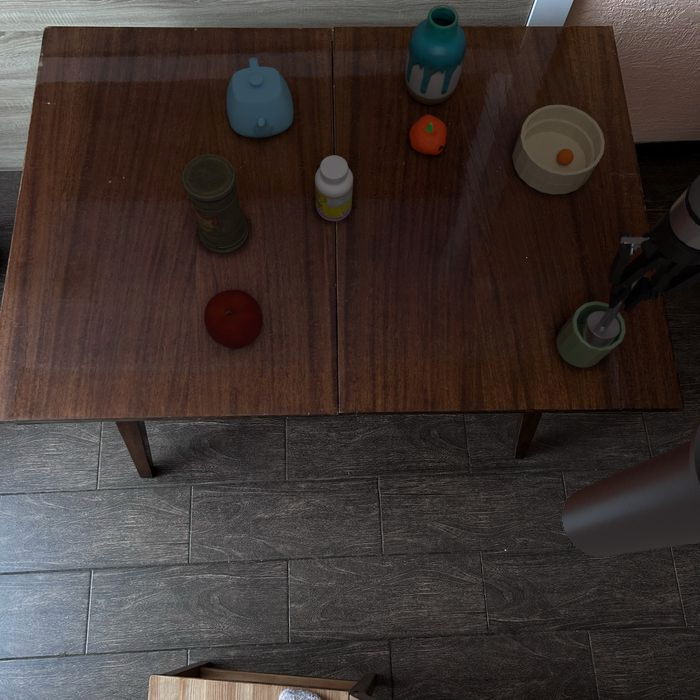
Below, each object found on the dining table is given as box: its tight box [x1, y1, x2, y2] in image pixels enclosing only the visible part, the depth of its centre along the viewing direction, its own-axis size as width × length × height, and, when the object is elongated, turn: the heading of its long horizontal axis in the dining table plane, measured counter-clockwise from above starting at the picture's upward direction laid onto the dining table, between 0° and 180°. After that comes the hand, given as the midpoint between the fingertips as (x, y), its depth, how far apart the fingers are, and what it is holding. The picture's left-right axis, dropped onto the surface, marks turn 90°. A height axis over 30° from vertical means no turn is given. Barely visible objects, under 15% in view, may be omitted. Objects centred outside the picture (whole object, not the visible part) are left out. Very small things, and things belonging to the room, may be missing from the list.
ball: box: [557, 149, 574, 165], centre depth 131 cm, size 3×3×3 cm
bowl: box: [511, 104, 606, 195], centre depth 130 cm, size 15×15×7 cm
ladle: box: [581, 273, 647, 348], centre depth 102 cm, size 5×5×23 cm
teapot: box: [225, 56, 295, 139], centre depth 129 cm, size 13×11×18 cm
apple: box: [203, 288, 264, 350], centre depth 115 cm, size 10×10×10 cm
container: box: [181, 153, 249, 255], centre depth 117 cm, size 9×9×18 cm
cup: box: [555, 300, 627, 368], centre depth 116 cm, size 8×9×9 cm
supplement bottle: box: [314, 154, 354, 222], centre depth 122 cm, size 7×7×13 cm
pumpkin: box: [408, 114, 448, 156], centre depth 131 cm, size 7×8×6 cm
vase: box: [404, 4, 467, 106], centre depth 129 cm, size 11×11×19 cm
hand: (619, 301), depth 104 cm, fingers closed on ladle, 2 cm apart
